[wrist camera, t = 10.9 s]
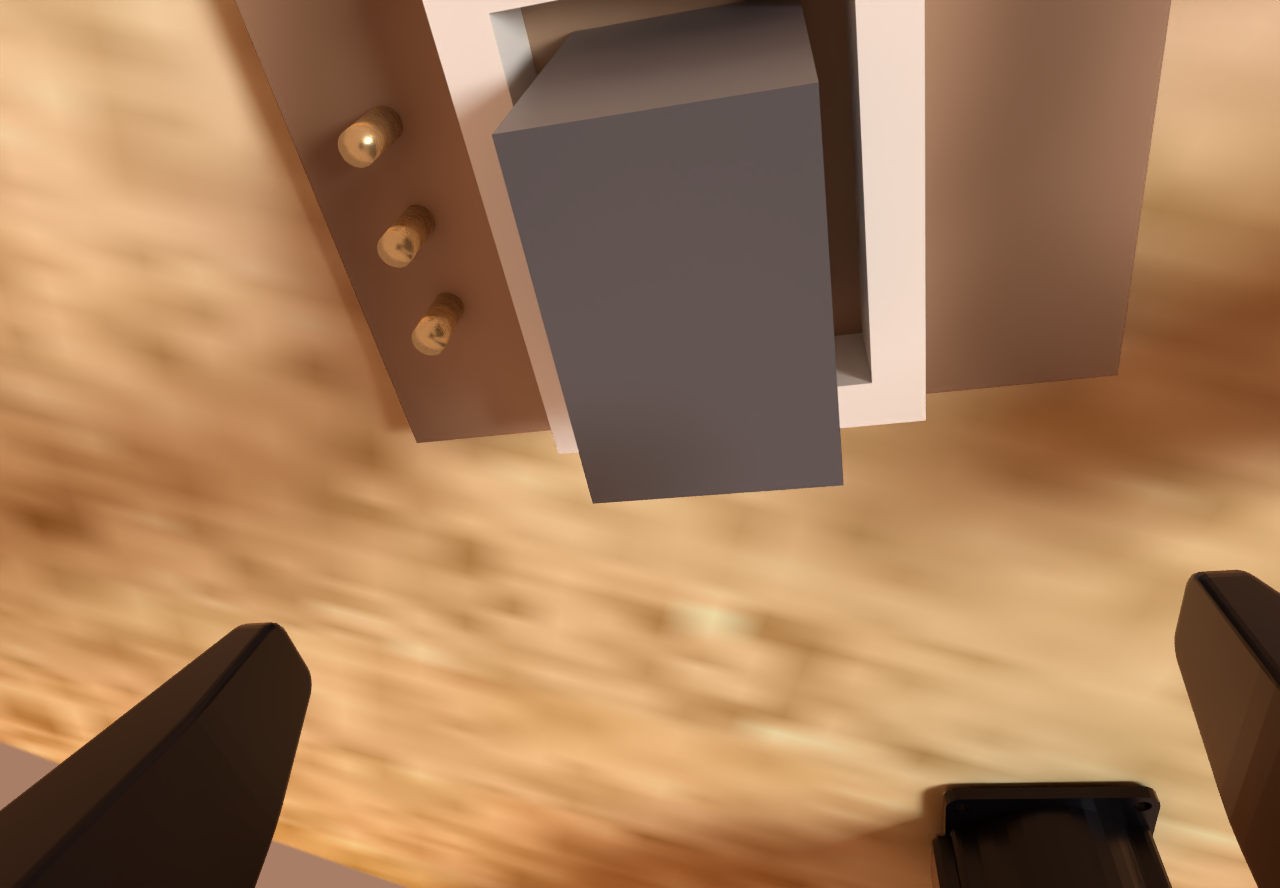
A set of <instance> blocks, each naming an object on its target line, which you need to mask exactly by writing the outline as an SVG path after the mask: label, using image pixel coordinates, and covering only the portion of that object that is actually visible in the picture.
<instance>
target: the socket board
mask: <svg viewBox="0 0 1280 888" xmlns="http://www.w3.org/2000/svg"><path fill="white" fill-rule="evenodd" d="M235 1H236V4H237V6H238V9H239V11H240V14H241V16H242V18H243V21H244V23H245V26H246V28H247V31H248V33H249V35H250V38H251V40H252V43H253V45H254V48H255V50H256V53H257V55H258V57H259V60H260V62H261V65H262V67H263V70H264V72H265V74H266V77H267V79H268V82H269V84H270V87H271V89H272V91H273V94H274V96H275V99H276V101H277V104H278V106H279V108H280V111H281V113H282V116H283V118H284V121H285V123H286V125H287V128H288V130H289V133H290V135H291V138H292V140H293V143H294V145H295V147H296V150H297V152H298V155H299V157H300V160H301V162H302V164H303V167H304V169H305V172H306V174H307V177H308V179H309V181H310V184H311V186H312V189H313V191H314V194H315V196H316V198H317V201H318V203H319V206H320V208H321V211H322V213H323V215H324V218H325V220H326V223H327V225H328V228H329V230H330V233H331V235H332V237H333V240H334V242H335V245H336V247H337V250H338V252H339V254H340V257H341V259H342V262H343V264H344V267H345V269H346V271H347V274H348V276H349V279H350V281H351V284H352V286H353V288H354V291H355V293H356V296H357V298H358V301H359V303H360V305H361V308H362V310H363V313H364V315H365V318H366V320H367V323H368V325H369V327H370V330H371V332H372V335H373V337H374V340H375V342H376V344H377V347H378V349H379V352H380V354H381V357H382V359H383V361H384V364H385V366H386V369H387V371H388V374H389V376H390V378H391V381H392V383H393V386H394V388H395V391H396V393H397V395H398V398H399V400H400V403H401V405H402V408H403V410H404V413H405V415H406V417H407V420H408V422H409V425H410V427H411V430H412V432H413V434H414V437H415V439H416V442H417V443H421V442H432V441H442V440H452V439H463V438H473V437H483V436H494V435H504V434H514V433H525V432H535V431H545V430H551V431H552V434H553V437H554V441H555V444H556V447H557V451H558V454H563V453H574V452H579V451H578V447H577V444H576V440H575V437H574V433H573V429H572V426H571V422H570V418H569V415H568V411H567V407H566V404H565V400H564V396H563V393H562V389H561V386H560V382H559V378H558V375H557V371H556V367H555V364H554V360H553V356H552V353H551V349H550V345H549V342H548V338H547V335H546V331H545V327H544V324H543V320H542V316H541V313H540V309H539V305H538V302H537V298H536V294H535V291H534V287H533V283H532V280H531V276H530V273H529V269H528V265H527V262H526V258H525V254H524V251H523V247H522V243H521V240H520V236H519V232H518V229H517V225H516V222H515V218H514V214H513V211H512V207H511V203H510V200H509V196H508V192H507V189H506V185H505V181H504V178H503V174H502V171H501V167H500V163H499V160H498V156H497V152H496V149H495V145H494V141H493V138H492V133H493V132H494V131H495V130H496V128H497V127H498V126H499V124H500V123H501V122H502V121H503V119H504V118H505V117H506V116H507V114H508V113H509V112H510V110H511V109H512V108H513V107H514V105H515V104H516V103H517V102H518V100H519V99H520V98H521V96H522V95H523V94H524V93H525V91H526V90H527V89H528V88H529V86H530V85H531V84H532V82H533V81H534V80H535V79H536V77H537V76H538V75H539V74H540V72H541V71H542V70H543V69H544V67H545V66H546V65H547V63H548V62H549V61H550V60H551V58H552V57H553V56H554V55H555V53H556V52H557V51H558V49H559V48H560V47H561V46H562V44H563V43H564V42H565V41H566V39H567V38H568V37H569V35H570V34H571V33H572V32H574V31H579V30H585V29H591V28H596V27H602V26H607V25H613V24H618V23H624V22H629V21H635V20H641V19H646V18H652V17H657V16H663V15H668V14H674V13H679V12H685V11H691V10H696V9H702V8H707V7H713V6H718V5H724V4H729V3H735V2H741V1H746V0H235ZM801 5H802V9H803V14H804V19H805V23H806V28H807V32H808V37H809V41H810V46H811V50H812V55H813V59H814V64H815V68H816V73H817V77H818V82H819V97H820V113H821V130H822V146H823V162H824V178H825V194H826V211H827V227H828V243H829V259H830V275H831V292H832V308H833V324H834V340H835V356H836V373H837V389H838V405H839V421H840V428H848V427H859V426H870V425H881V424H892V423H903V422H914V421H925V420H926V394H927V393H938V392H948V391H958V390H969V389H979V388H989V387H1000V386H1010V385H1020V384H1031V383H1041V382H1051V381H1061V380H1072V379H1082V378H1092V377H1103V376H1113V375H1118V368H1119V361H1120V354H1121V347H1122V340H1123V333H1124V326H1125V319H1126V312H1127V305H1128V298H1129V291H1130V284H1131V277H1132V270H1133V263H1134V256H1135V249H1136V242H1137V235H1138V228H1139V221H1140V214H1141V207H1142V201H1143V194H1144V187H1145V180H1146V173H1147V166H1148V159H1149V152H1150V145H1151V138H1152V131H1153V124H1154V117H1155V110H1156V103H1157V96H1158V89H1159V82H1160V75H1161V68H1162V61H1163V54H1164V47H1165V40H1166V33H1167V26H1168V19H1169V12H1170V5H1171V0H801Z"/></svg>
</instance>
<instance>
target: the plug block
mask: <svg viewBox="0 0 1280 888" xmlns="http://www.w3.org/2000/svg"><path fill="white" fill-rule="evenodd" d="M492 138H493V141H494V145H495V149H496V152H497V156H498V160H499V163H500V167H501V171H502V174H503V178H504V181H505V185H506V189H507V192H508V196H509V200H510V203H511V207H512V211H513V214H514V218H515V222H516V225H517V229H518V232H519V236H520V240H521V243H522V247H523V251H524V254H525V258H526V262H527V265H528V269H529V273H530V276H531V280H532V283H533V287H534V291H535V294H536V298H537V302H538V305H539V309H540V313H541V316H542V320H543V324H544V327H545V331H546V335H547V338H548V342H549V345H550V349H551V353H552V356H553V360H554V364H555V367H556V371H557V375H558V378H559V382H560V386H561V389H562V393H563V396H564V400H565V404H566V407H567V411H568V415H569V418H570V422H571V426H572V429H573V433H574V437H575V440H576V444H577V447H578V451H579V455H580V458H581V462H582V466H583V469H584V473H585V477H586V480H587V484H588V488H589V491H590V495H591V498H592V502H593V503H607V502H621V501H634V500H648V499H662V498H675V497H689V496H703V495H716V494H730V493H744V492H757V491H771V490H785V489H798V488H812V487H826V486H839V485H843V470H842V453H841V437H840V421H839V405H838V389H837V373H836V356H835V340H834V324H833V308H832V292H831V275H830V259H829V243H828V227H827V211H826V194H825V178H824V162H823V146H822V130H821V113H820V97H819V82H818V77H817V73H816V68H815V64H814V59H813V55H812V50H811V46H810V41H809V37H808V32H807V28H806V23H805V19H804V14H803V9H802V5H801V0H746V1H741V2H735V3H729V4H724V5H718V6H713V7H707V8H702V9H696V10H691V11H685V12H679V13H674V14H668V15H663V16H657V17H652V18H646V19H641V20H635V21H629V22H624V23H618V24H613V25H607V26H602V27H596V28H591V29H585V30H579V31H574V32H572V33H571V34H570V35H569V37H568V38H567V39H566V41H565V42H564V43H563V44H562V46H561V47H560V48H559V49H558V51H557V52H556V53H555V55H554V56H553V57H552V58H551V60H550V61H549V62H548V63H547V65H546V66H545V67H544V69H543V70H542V71H541V72H540V74H539V75H538V76H537V77H536V79H535V80H534V81H533V82H532V84H531V85H530V86H529V88H528V89H527V90H526V91H525V93H524V94H523V95H522V96H521V98H520V99H519V100H518V102H517V103H516V104H515V105H514V107H513V108H512V109H511V110H510V112H509V113H508V114H507V116H506V117H505V118H504V119H503V121H502V122H501V123H500V124H499V126H498V127H497V128H496V130H495V131H494V132H493V133H492Z"/></svg>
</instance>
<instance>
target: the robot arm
mask: <svg viewBox="0 0 1280 888" xmlns="http://www.w3.org/2000/svg"><path fill="white" fill-rule="evenodd" d="M1175 652H1176V658H1177V662H1178V665H1179V668H1180V671H1181V674H1182V677H1183V681H1184V684H1185V687H1186V690H1187V693H1188V696H1189V699H1190V703H1191V706H1192V709H1193V712H1194V715H1195V718H1196V721H1197V724H1198V728H1199V731H1200V734H1201V737H1202V740H1203V743H1204V746H1205V749H1206V753H1207V756H1208V759H1209V762H1210V765H1211V768H1212V771H1213V775H1214V778H1215V781H1216V784H1217V787H1218V790H1219V793H1220V796H1221V799H1222V802H1223V805H1224V808H1225V811H1226V814H1227V817H1228V819H1229V822H1230V825H1231V827H1232V829H1233V832H1234V834H1235V837H1236V839H1237V841H1238V844H1239V846H1240V848H1241V851H1242V853H1243V855H1244V857H1245V860H1246V862H1247V864H1248V866H1249V868H1250V871H1251V873H1252V875H1253V877H1254V880H1255V882H1256V884H1257V886H1258V888H1280V593H1279V592H1277V591H1276V590H1274V589H1273V588H1271V587H1270V586H1268V585H1267V584H1265V583H1264V582H1262V581H1261V580H1259V579H1258V578H1257V577H1255V576H1253V575H1252V574H1250V573H1247V572H1245V571H1241V570H1226V571H1207V572H1198V573H1195V574H1193V575H1192V576H1191V577H1190V578H1189V579H1188V582H1187V584H1186V588H1185V592H1184V597H1183V601H1182V605H1181V610H1180V614H1179V618H1178V623H1177V627H1176V631H1175ZM311 685H312V683H311V675H310V672H309V669H308V667H307V666H306V664H305V662H304V661H303V659H302V657H301V656H300V654H299V652H298V651H297V649H296V647H295V646H294V644H293V642H292V641H291V639H290V637H289V636H288V634H287V632H286V631H285V630H284V628H283V627H282V626H280V625H279V624H277V623H272V622H269V623H251V624H244V625H240V626H238V627H236V628H235V629H233V630H232V631H231V632H230V633H228V634H227V635H226V636H224V637H223V638H222V639H220V640H219V641H218V642H217V643H215V644H214V645H213V646H211V647H210V648H209V649H208V650H206V651H205V652H204V653H202V654H201V655H200V656H199V657H197V658H196V659H195V660H193V661H192V662H191V663H190V664H188V665H187V666H186V667H184V668H183V669H182V670H181V671H179V672H178V673H177V674H175V675H174V676H173V677H172V678H170V679H169V680H168V681H166V682H165V683H164V684H163V685H161V686H160V687H159V688H157V689H156V690H155V691H154V692H152V693H151V694H150V695H148V696H147V697H146V698H145V699H143V700H142V701H141V702H139V703H138V704H137V705H136V706H134V707H133V708H132V709H130V710H129V711H128V712H127V713H125V714H124V715H123V716H121V717H120V718H119V719H118V720H116V721H115V722H114V723H112V724H111V725H110V726H108V727H107V728H106V729H105V730H103V731H102V732H101V733H99V734H98V735H97V736H96V737H94V738H93V739H92V740H90V741H89V742H88V743H87V744H85V745H84V746H83V747H81V748H80V749H79V750H78V751H76V752H75V753H74V754H72V755H71V756H70V757H69V758H67V759H66V760H65V761H63V762H62V763H61V764H60V765H58V766H57V767H56V768H54V769H53V770H52V771H51V772H49V773H48V774H47V775H45V776H44V777H43V778H42V779H40V780H39V781H38V782H36V783H35V784H34V785H33V786H31V787H30V788H29V789H27V790H26V791H25V792H24V793H22V794H21V795H20V796H18V797H17V798H16V799H15V800H13V801H12V802H11V803H9V804H8V805H7V806H6V807H4V808H3V809H2V810H0V888H255V886H256V883H257V880H258V878H259V875H260V872H261V869H262V866H263V864H264V861H265V858H266V856H267V853H268V850H269V847H270V844H271V841H272V838H273V835H274V832H275V829H276V826H277V823H278V819H279V816H280V812H281V809H282V805H283V801H284V798H285V794H286V790H287V786H288V782H289V778H290V774H291V770H292V766H293V762H294V758H295V754H296V750H297V746H298V742H299V738H300V734H301V730H302V727H303V723H304V719H305V715H306V711H307V707H308V703H309V699H310V695H311ZM1159 810H1160V802H1159V800H1158V797H1157V795H1156V792H1155V791H1154V790H1153V789H1152V788H1149V787H1145V786H1107V787H1028V788H958V789H952V790H950V791H948V792H946V793H945V795H944V799H943V834H937V835H936V836H935V837H934V839H933V840H932V883H933V888H1172V886H1171V884H1170V881H1169V878H1168V876H1167V873H1166V870H1165V868H1164V865H1163V863H1162V860H1161V857H1160V855H1159V852H1158V850H1157V847H1156V844H1155V842H1154V839H1153V832H1154V829H1155V825H1156V821H1157V817H1158V813H1159Z"/></svg>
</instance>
